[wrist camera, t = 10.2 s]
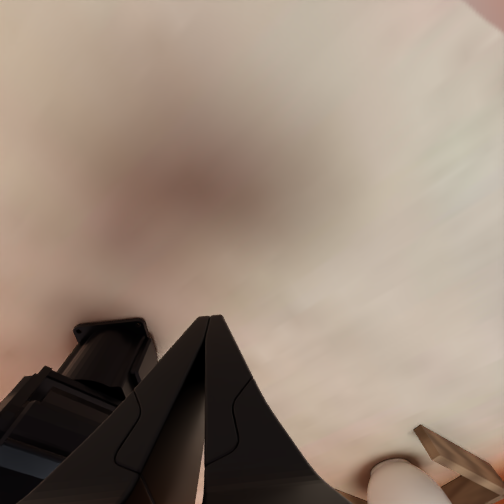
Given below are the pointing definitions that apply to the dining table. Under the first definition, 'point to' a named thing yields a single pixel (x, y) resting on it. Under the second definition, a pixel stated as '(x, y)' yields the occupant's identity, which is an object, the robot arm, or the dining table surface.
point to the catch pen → (462, 462)
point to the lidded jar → (403, 485)
